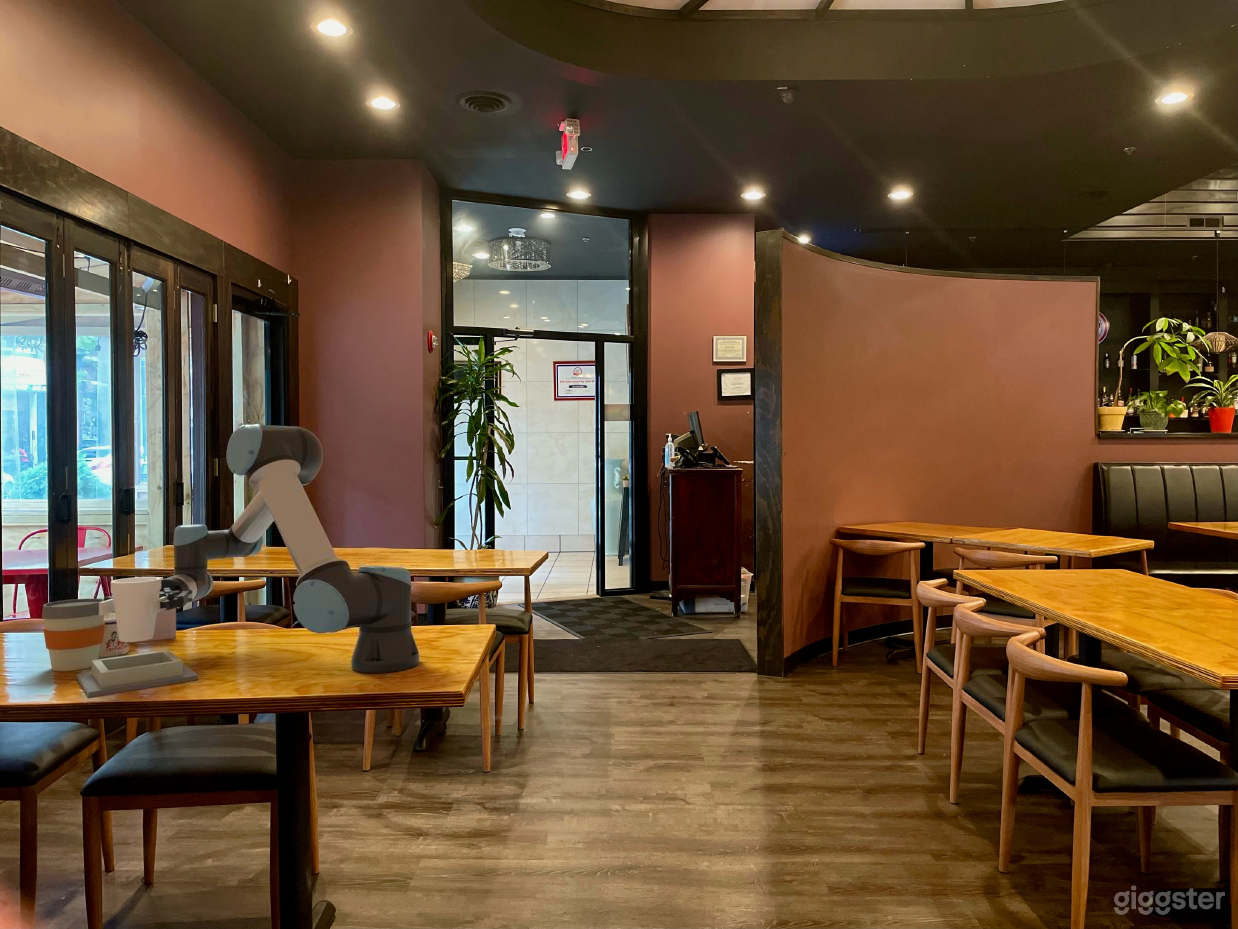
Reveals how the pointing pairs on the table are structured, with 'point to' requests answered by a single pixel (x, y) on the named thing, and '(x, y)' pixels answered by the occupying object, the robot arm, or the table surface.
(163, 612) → the greeting card
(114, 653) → the teacup with lid
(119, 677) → the tray
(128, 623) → the foam cup
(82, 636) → the reusable coffee cup
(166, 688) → the table surface
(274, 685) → the table surface
